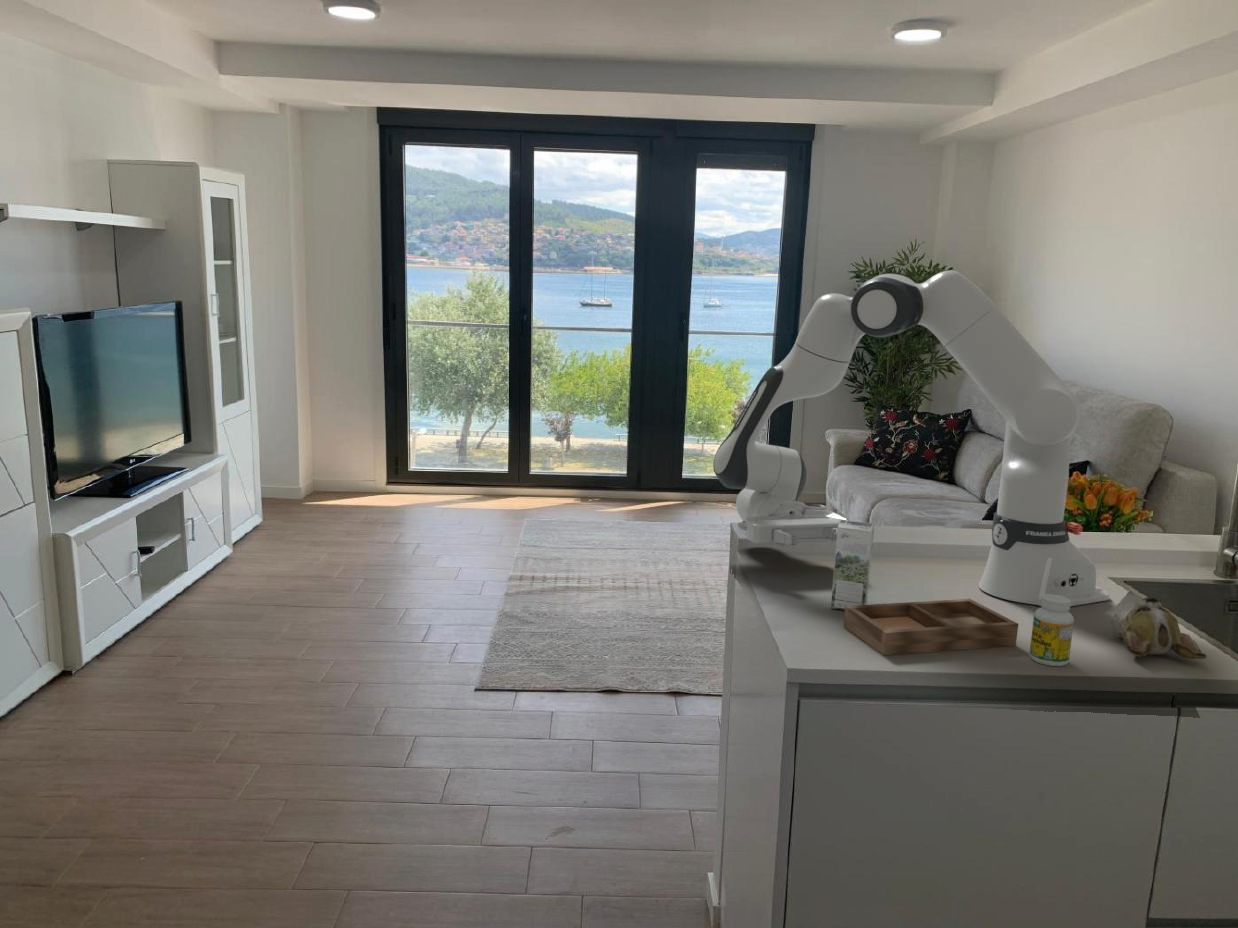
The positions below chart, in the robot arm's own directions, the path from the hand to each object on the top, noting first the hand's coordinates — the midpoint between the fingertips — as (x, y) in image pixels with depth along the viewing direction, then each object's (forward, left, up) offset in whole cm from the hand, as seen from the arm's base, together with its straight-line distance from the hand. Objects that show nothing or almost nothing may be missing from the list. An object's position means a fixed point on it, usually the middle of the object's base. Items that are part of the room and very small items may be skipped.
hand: (816, 540), depth 173 cm
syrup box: (0, +13, -8) cm, 16 cm away
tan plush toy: (-37, +39, -8) cm, 55 cm away
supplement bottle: (-18, +40, -8) cm, 45 cm away
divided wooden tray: (-5, +28, -8) cm, 30 cm away
